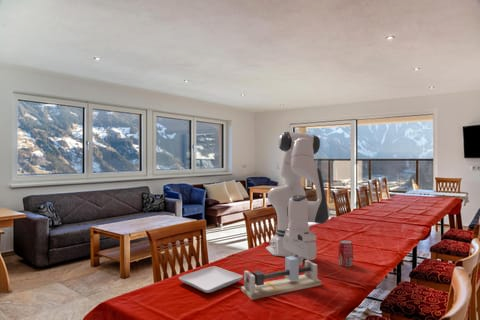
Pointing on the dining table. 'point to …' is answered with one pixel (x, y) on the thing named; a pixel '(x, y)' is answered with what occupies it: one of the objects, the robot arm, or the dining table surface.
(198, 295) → the dining table surface
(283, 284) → the linear slide rail
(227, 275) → the salad plate
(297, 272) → the slide rail carriage
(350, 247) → the soda can
